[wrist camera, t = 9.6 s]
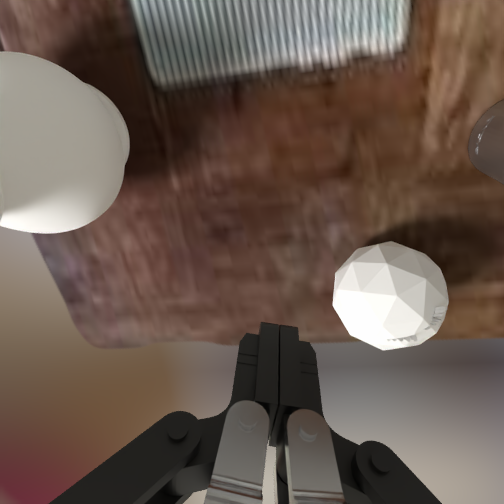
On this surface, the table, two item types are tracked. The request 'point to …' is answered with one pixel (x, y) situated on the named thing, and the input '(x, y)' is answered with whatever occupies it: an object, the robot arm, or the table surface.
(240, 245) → the table surface
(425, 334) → the geodesic sphere
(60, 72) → the decorative vase
